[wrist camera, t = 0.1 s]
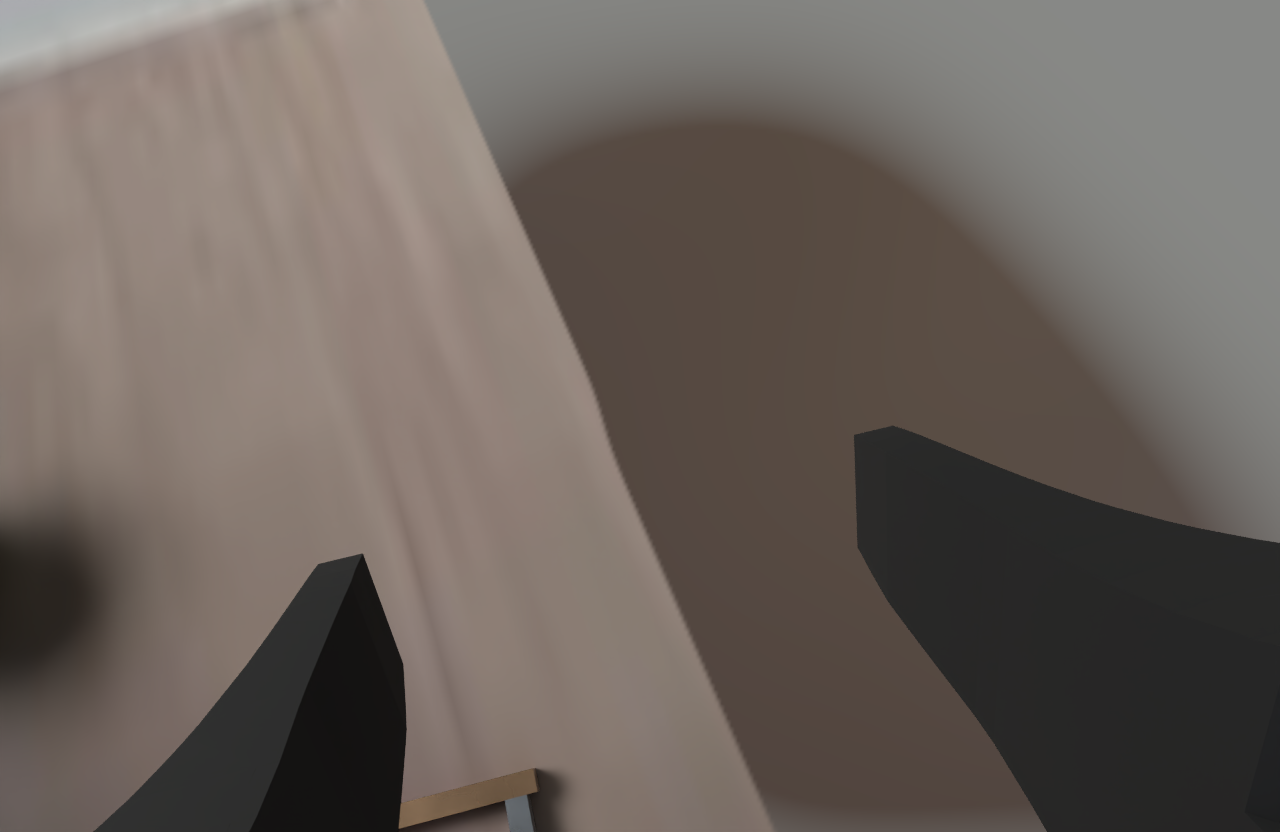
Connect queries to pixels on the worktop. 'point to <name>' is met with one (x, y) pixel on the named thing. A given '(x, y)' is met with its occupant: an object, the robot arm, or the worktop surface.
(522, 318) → the worktop surface
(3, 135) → the worktop surface
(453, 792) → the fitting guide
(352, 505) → the worktop surface
